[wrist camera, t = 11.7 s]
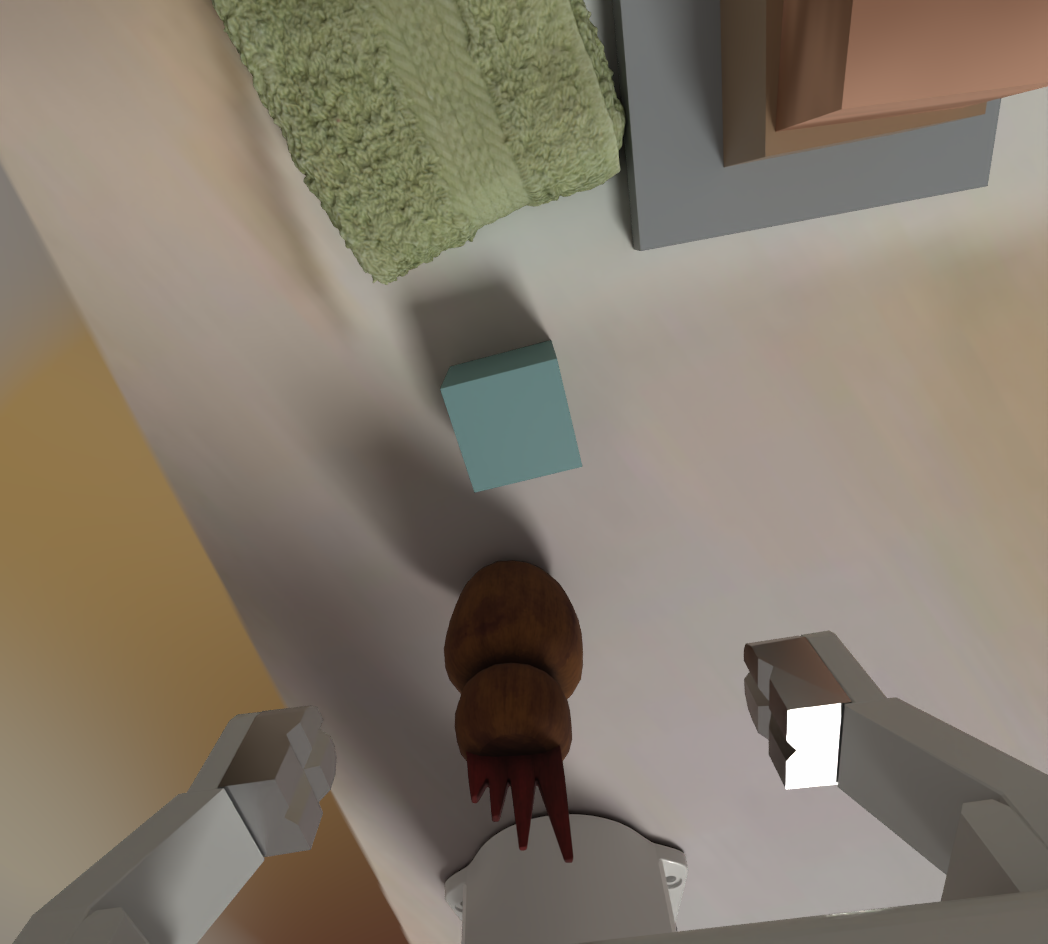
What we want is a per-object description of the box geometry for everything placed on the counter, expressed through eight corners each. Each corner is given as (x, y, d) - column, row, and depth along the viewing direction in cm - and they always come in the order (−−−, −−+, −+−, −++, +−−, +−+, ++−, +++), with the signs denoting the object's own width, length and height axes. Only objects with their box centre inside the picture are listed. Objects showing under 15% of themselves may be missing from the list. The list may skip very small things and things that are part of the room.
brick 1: (573, 434, 28) (582, 466, 25) (479, 458, 29) (474, 492, 25) (550, 339, 26) (557, 358, 23) (450, 366, 27) (440, 388, 23)
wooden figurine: (587, 564, 31) (642, 830, 18) (551, 640, 34) (576, 927, 20) (472, 531, 30) (438, 786, 17) (443, 611, 33) (392, 893, 19)
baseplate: (960, 187, 24) (1080, 179, 19) (633, 249, 24) (664, 256, 19) (1013, -205, 19) (1197, -362, 14) (603, -112, 19) (633, -227, 14)
